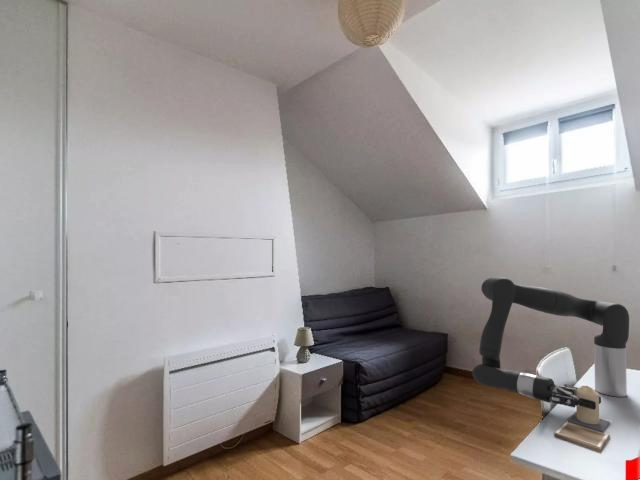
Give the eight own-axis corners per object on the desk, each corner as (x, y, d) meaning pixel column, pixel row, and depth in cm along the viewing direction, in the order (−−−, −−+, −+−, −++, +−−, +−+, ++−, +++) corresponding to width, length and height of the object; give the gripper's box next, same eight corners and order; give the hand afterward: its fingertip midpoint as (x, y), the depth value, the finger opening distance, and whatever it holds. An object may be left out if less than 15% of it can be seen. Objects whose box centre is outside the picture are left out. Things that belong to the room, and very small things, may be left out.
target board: (565, 424, 108) (565, 420, 108) (609, 438, 100) (609, 434, 100) (554, 436, 100) (554, 432, 100) (600, 452, 93) (600, 448, 93)
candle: (603, 425, 106) (602, 391, 106) (582, 423, 107) (581, 389, 107) (593, 417, 111) (592, 384, 111) (573, 415, 112) (572, 383, 112)
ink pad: (575, 413, 115) (575, 411, 115) (609, 423, 109) (609, 421, 109) (567, 422, 109) (567, 420, 109) (602, 433, 103) (602, 430, 103)
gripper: (527, 380, 115) (591, 396, 103) (542, 371, 125) (603, 384, 112) (527, 404, 115) (592, 423, 102) (543, 392, 124) (604, 409, 112)
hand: (597, 403), depth 107 cm, fingers closed on candle, 5 cm apart
